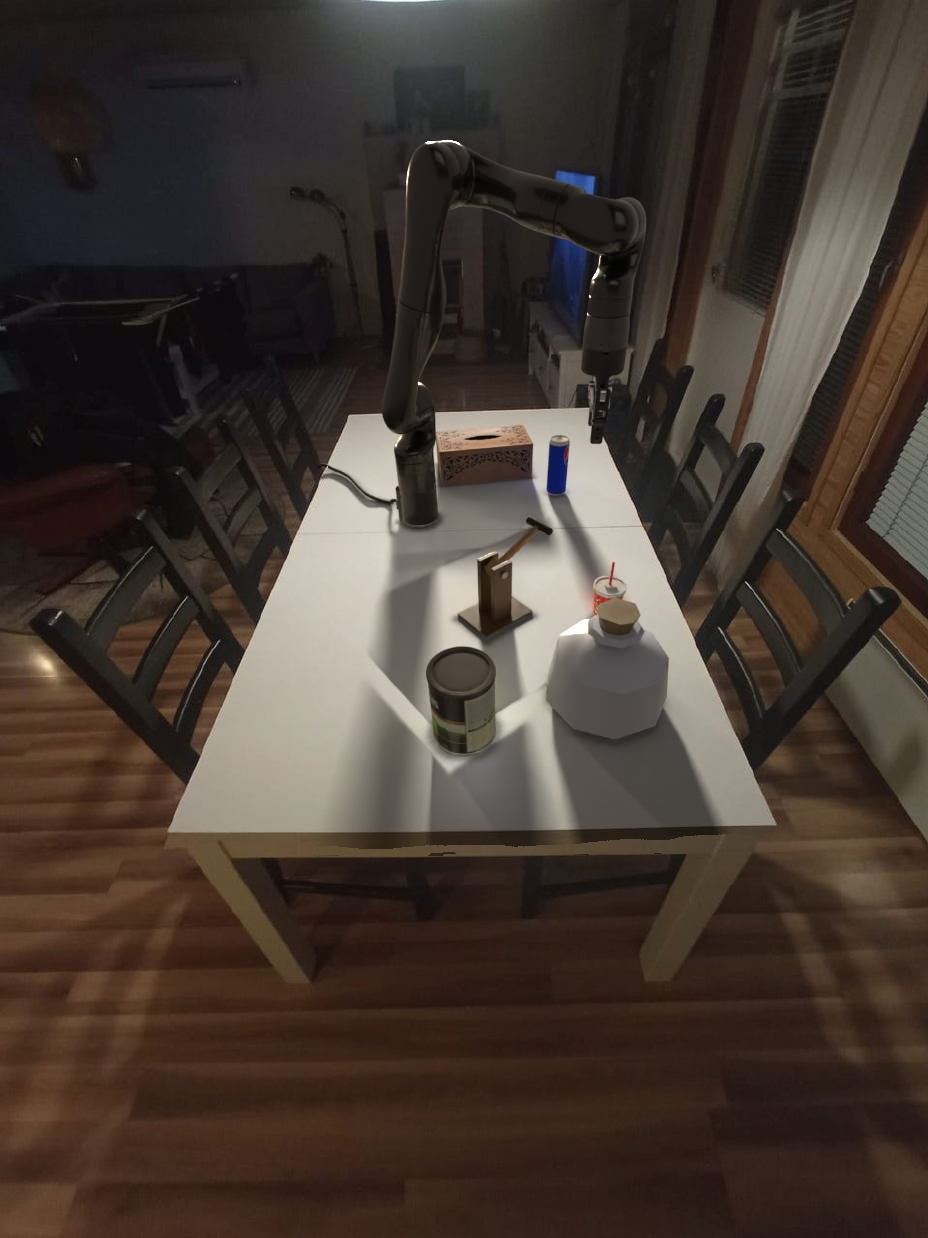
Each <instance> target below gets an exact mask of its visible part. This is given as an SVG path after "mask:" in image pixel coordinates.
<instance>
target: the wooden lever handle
mask: <svg viewBox="0 0 928 1238" xmlns="http://www.w3.org/2000/svg"><path fill="white" fill-rule="evenodd" d="M525 524H526V525H528V526H530V527H531V528H530V529H528V530H527V531H526V532H525V533H524V534H523V535H522V537H520V538H519V539H518V540H517V541H516V542H515V543H514V544H513V545H511V547H510V548H509V549H508V550H507V551H505V553H503V555H501V557H499V558H498V559H496V558H495V557H494V558H493V559H492V560H491V561H490V562H489V563H488V564H486V565H485V566H484V568H485V570H486V572H487V574H488V575H489V576H491V568H493V567H495V566H497V565H499V564H501V563H503V562H505V561H508V560H510V561H511V559H512V558H513V557H514V556H515V555H516V554H517V553H518V552H520V550H521V549H522V548H523V547H524V546H525V545H526V544H527V543H528V542H530V541H531V540H532V539H533V538H534V537H535V536H536V535H537V534H539V532H540V533H542V534H544V535H546V536H548V537H550V536H552V534H553V532H554V528H553V527H550V526H549V525H547V524H545V523H543V522H542V521H540V520H538V519H536V518H535V517H532V516H531V515H529V516H527V517H526V519H525Z"/></svg>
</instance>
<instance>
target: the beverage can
mask: <svg viewBox="0 0 928 1238" xmlns="http://www.w3.org/2000/svg"><path fill="white" fill-rule="evenodd" d="M549 439H550V440H549V442H548V456H547V461H548V462H547V473H546V475H547V476H546V492H547V494H549V496H550V495H551V496H553V497H559V496H560V497H561V496H562V495H564V494H565V493H566V490H567V482H568V481H567V479H568V467H569V456H570V445H571V444H570V443H571V442H570V437H569V436H567V435H563V434H556V435H553V436H551V437H550V438H549Z"/></svg>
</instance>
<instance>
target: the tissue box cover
mask: <svg viewBox="0 0 928 1238" xmlns="http://www.w3.org/2000/svg"><path fill="white" fill-rule="evenodd" d="M435 445H436V458H437V468H438V473H439V479H440V484H441V486H442V487H445V486H447V487H448V486H458V485H467V484H478V483H489V482H490V483H491V482H500V481H511V480H522V479H531V478H533V460H534V459H533V458H534V442H533V441H532V438H531V436H530V435H529V433H528V431H527V429H526V428H525V425H524V423H522V424H510V425H509V424H508V425H500V426H499V425H498V426H487V427H486V426H485V427H476V428H474V427H473V428H466V429H451V430H442V431H439V430H438V431H436V442H435Z"/></svg>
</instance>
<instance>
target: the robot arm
mask: <svg viewBox="0 0 928 1238" xmlns="http://www.w3.org/2000/svg"><path fill="white" fill-rule="evenodd" d="M405 186H406V191H405V224H404V225H405V227H404V228H405V229H404V242H403V252H402V262H401V271H400V281H399V288H398V294H397V295H398V296H397V302H396V312H395V322H394V323H395V324H394V330H393V331H394V334H393V338H392V339H393V340H392V347H391V354H390V363H389V368H388V373H387V376H386V377H387V378H386V382H385V386H384V391H383V395H382V399H381V416H382V419H383V422H384V424H385V426H386V427H387V429H388V430H389V431H390V432H392V433H393V434H396V435H399V437H398V438H397V440H396V442H395V444H394V447H393V455H394V461H395V469H396V476H397V484H398V485H397V486H395V495H396V498H391V499H389V500H388V499H383V498H380V497H377V496H375V495H373V494H370V492H368V491H366V490H365V489H364V488H363V487H362V486H361V485H360V484H359V483H358V482H357V481H356V480H355V478H354V477H353V476H351V475H350V474H348V473H347V472H345V471H343V470H341V469H338V468H336V467H334V466H331V465H329V464H327V463H324V462H321V463H319V464H318V465H317V468H318V469H321V468H322V467H325V468H327V466H328V468H327V469H328V470H330V471H333V472H335V473H338V474H340V475H342V476H344V477H346V478H347V479H349V480H350V481H351V482H352V484H353V485H354V486H355V487H356V488H357V490H359V491H360V493H362V494H363V495H364V496H365V497H366V498H369V499H371V500H374V501H376V502H377V503H383V504H386V505H393V504H394V503H395V505H396V510H397V512H398V518H399V522H400V523H402V524H403V525H404V526H405V527H407V528H410V529H415V530H423V529H428V528H431V527H433V526H435V525H436V524H437V523H438V522H439V520H440V513H439V502H438V492H437V491H438V490H437V480H436V479H437V478H436V466H435V452H434V449H435V445H436V432H437V428H436V427H437V424H436V420H437V419H436V406H435V401H434V398H433V395H432V394H431V391H430V390H429V388H428V387H427V386H426V385H425V384H423V383H422V382H420V380H421V376H422V373H423V372H424V369H425V367H426V365H427V363H428V361H429V359H430V358H431V355H432V353H433V351H434V349H435V347H436V345H437V344H438V341H439V338H440V336H441V331H442V327H443V324H444V323H443V322H444V318H445V312H446V305H447V283H446V278H445V273H444V267H443V261H442V249H443V248H442V247H443V238H444V235H445V234H444V233H445V227H446V223H447V219H448V214H449V211H452V210H455V209H458V208H462V207H464V208H479V209H486V210H489V211H493V212H496V213H498V214H501V215H503V216H505V217H507V218H509V219H510V220H512V221H514V222H515V223H517V224H518V225H520V226H522V227H525V228H526V229H529V230H532V231H534V232H537V233H540V234H544V235H547V236H550V237H554V238H557V239H560V240H566V241H568V242H570V243H572V244H574V245H576V246H578V247H580V248H582V249H584V250H586V251H588V252H590V253H593V254H595V255H599V257H598V266H597V268H596V269H597V270H596V272H595V273H594V275H593V277H592V279H591V281H590V286H589V292H588V301H587V314H586V319H585V324H584V328H583V329H584V330H583V340H582V349H581V350H582V351H581V362H580V370H581V372H582V373H583V374H585V375H587V376H591V377H590V379H589V380H588V386H587V388H588V389H587V390H588V392H587V399H588V406H589V409H588V418H587V425H588V426H589V427H591V428H590V429H591V430H590V436H589V443H590V444H591V445H601V444H602V443H603V441H604V431H605V425H608V421H609V420H608V419H609V410H610V407H611V395H612V392H613V384H612V380H611V379H610V378H611V377H613V376H615V377H616V376H619V375H621V374H622V373H623V372H624V369H625V364H626V357H627V350H628V343H629V337H630V336H629V335H630V325H631V324H630V320H631V319H630V317H631V310H632V309H631V308H632V303H633V302H632V301H633V295H634V283H635V278H636V274H637V271H638V268H639V264H640V261H641V257H642V254H643V253H642V252H643V249H644V244H645V238H646V233H647V215H646V213H647V212H646V210H645V207H644V205H643V204H642V203H641V201H640V200H638V199H636V198H635V197H630V196H625V197H620V198H616V199H614V198H613V199H612V198H608V197H603V196H599V195H596V194H592V193H588V192H587V191H586V189H584V188H583V187H581V186H579V185H577V184H573V183H569V182H566V181H562V180H559V179H554V178H551V177H547V176H543V175H538V174H534V173H529V172H526V171H521V170H517V169H514V168H511V167H508V166H505V165H502V164H500V163H497V162H495V161H493V160H491V159H489V158H487V157H485V156H483V155H481V154H479V153H477V152H476V151H474V150H472V149H470V148H468V147H466V146H465V145H463V144H461V143H460V142H457V141H453V140H435V141H427V142H424V143H422V144H420V145H419V146H418V147H417V148H415V151H414V152H413V153H412V155H411V158H410V159H409V163H408V168H407V174H406V185H405Z"/></svg>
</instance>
